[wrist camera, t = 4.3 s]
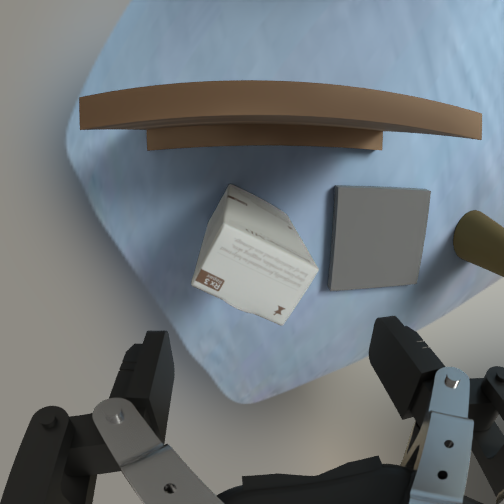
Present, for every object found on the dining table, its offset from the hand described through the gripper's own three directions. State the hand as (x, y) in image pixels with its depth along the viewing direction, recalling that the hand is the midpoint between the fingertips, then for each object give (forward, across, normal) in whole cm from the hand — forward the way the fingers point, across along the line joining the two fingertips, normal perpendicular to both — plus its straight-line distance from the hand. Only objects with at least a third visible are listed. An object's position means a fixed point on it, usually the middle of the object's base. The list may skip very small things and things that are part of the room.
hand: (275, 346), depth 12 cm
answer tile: (+18, -13, +2) cm, 22 cm away
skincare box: (+18, 0, 0) cm, 18 cm away
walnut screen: (+18, -2, -9) cm, 20 cm away
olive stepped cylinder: (+18, -26, +2) cm, 32 cm away
